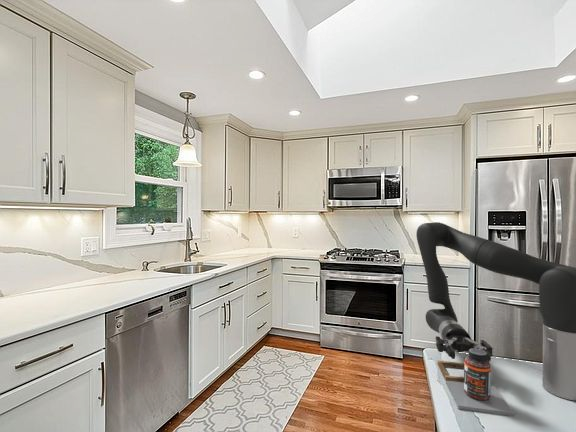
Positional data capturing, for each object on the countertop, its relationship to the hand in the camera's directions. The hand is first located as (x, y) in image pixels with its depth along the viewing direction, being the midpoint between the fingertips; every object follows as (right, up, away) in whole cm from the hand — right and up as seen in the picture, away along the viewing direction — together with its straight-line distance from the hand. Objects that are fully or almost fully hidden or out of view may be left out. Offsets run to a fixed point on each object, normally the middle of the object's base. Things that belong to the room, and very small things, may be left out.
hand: (470, 357), depth 87 cm
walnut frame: (+1, -8, +7) cm, 11 cm away
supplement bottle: (-1, -8, -5) cm, 9 cm away
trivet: (-1, -8, -5) cm, 10 cm away
